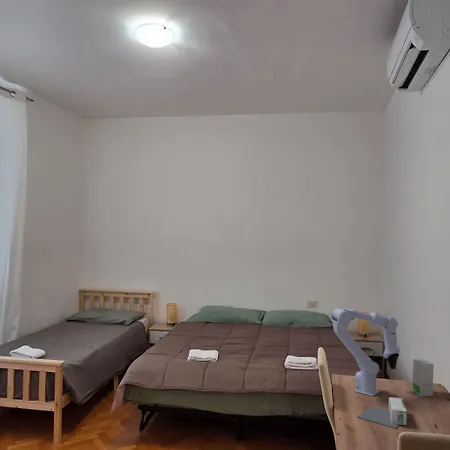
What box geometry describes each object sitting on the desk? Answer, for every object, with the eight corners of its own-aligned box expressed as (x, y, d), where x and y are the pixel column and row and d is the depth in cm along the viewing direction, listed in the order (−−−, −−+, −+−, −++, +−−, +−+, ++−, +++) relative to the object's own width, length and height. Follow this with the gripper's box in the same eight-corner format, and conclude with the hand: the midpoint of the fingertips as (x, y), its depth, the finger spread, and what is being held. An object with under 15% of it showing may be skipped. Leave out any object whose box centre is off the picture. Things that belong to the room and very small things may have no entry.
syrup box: (402, 411, 195) (407, 425, 181) (388, 409, 196) (391, 423, 182) (402, 398, 195) (407, 411, 181) (388, 396, 196) (391, 409, 182)
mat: (357, 417, 189) (357, 416, 189) (372, 406, 200) (372, 406, 200) (395, 428, 179) (395, 427, 179) (409, 416, 190) (409, 415, 190)
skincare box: (411, 390, 221) (411, 358, 221) (424, 389, 222) (424, 358, 222) (420, 396, 213) (420, 363, 213) (434, 396, 213) (434, 363, 213)
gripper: (392, 345, 213) (395, 374, 213) (404, 338, 223) (407, 365, 223) (378, 344, 218) (380, 372, 218) (390, 336, 228) (393, 363, 228)
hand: (393, 368), depth 221 cm, fingers closed
